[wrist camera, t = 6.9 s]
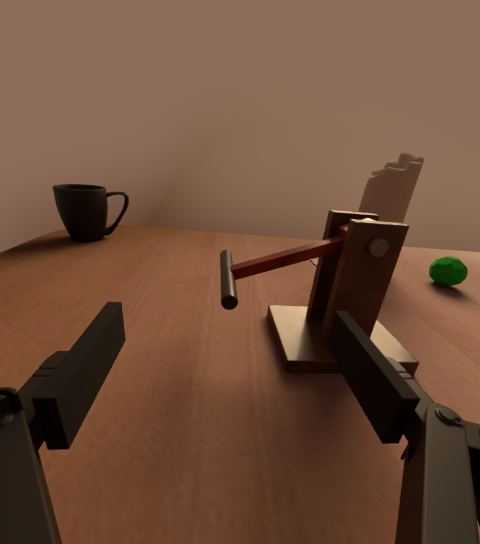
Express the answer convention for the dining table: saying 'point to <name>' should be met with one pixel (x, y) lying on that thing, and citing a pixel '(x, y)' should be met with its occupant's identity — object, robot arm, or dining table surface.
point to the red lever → (272, 263)
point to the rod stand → (344, 295)
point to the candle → (391, 189)
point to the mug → (85, 210)
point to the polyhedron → (448, 271)
